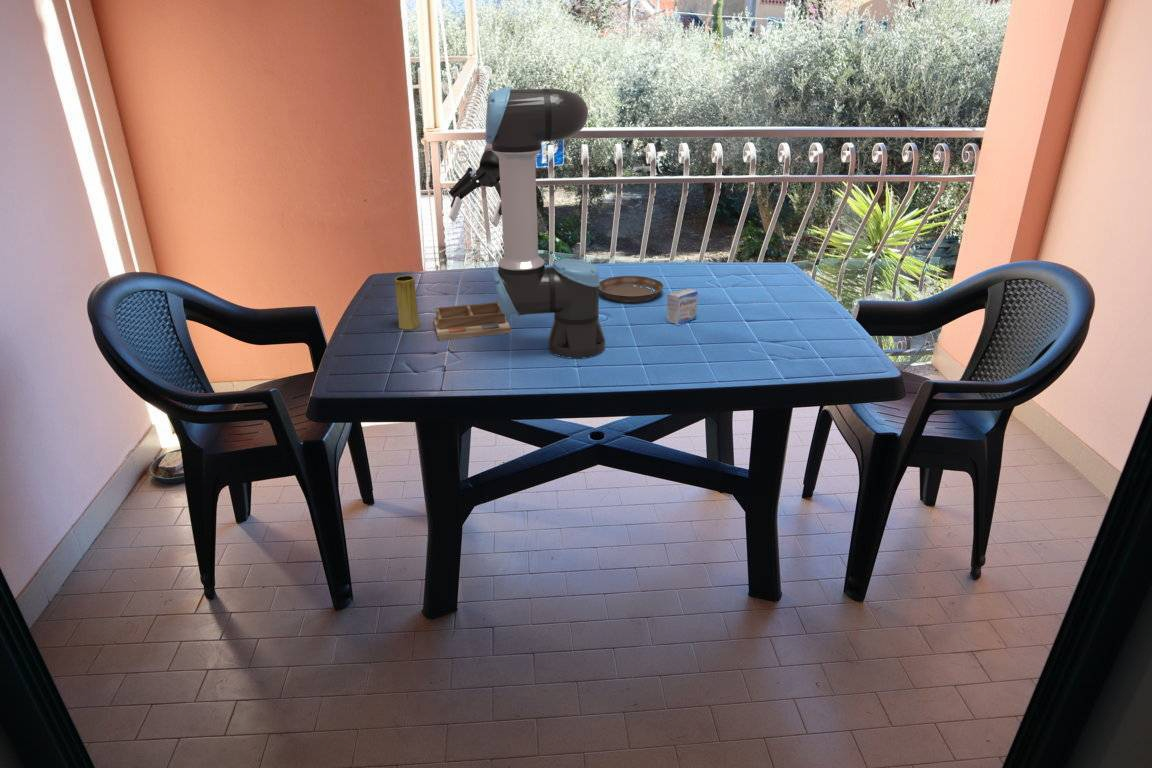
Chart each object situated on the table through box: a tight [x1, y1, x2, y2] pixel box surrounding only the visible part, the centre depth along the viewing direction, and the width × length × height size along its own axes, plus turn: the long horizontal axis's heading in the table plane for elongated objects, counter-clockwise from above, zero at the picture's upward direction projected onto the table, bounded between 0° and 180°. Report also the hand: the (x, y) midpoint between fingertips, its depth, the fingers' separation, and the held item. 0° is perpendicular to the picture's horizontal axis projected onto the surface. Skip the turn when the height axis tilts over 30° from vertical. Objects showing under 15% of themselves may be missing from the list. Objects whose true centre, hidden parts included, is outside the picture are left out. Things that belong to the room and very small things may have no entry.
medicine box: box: [666, 287, 699, 325], centre depth 224 cm, size 8×4×9 cm, turn 129°
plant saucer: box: [599, 275, 665, 303], centre depth 246 cm, size 21×21×3 cm
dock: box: [433, 301, 512, 341], centre depth 221 cm, size 14×20×4 cm
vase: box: [394, 274, 421, 331], centre depth 220 cm, size 6×6×14 cm
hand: (472, 221), depth 220 cm, fingers open, 13 cm apart
